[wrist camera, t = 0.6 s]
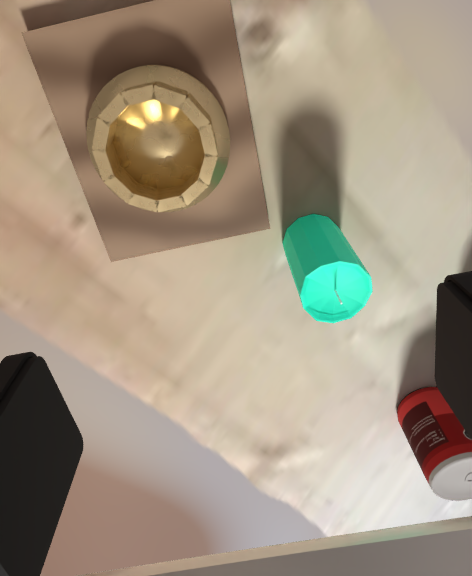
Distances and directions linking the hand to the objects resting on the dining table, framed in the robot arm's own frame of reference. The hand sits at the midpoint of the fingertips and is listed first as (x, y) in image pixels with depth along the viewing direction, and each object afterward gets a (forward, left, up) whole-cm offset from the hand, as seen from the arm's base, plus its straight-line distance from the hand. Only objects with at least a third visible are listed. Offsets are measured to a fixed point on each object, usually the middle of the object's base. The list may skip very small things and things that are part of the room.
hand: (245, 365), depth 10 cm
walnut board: (0, -5, -33) cm, 33 cm away
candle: (+13, +7, -33) cm, 36 cm away
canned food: (+40, +19, -33) cm, 55 cm away
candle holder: (0, -5, -31) cm, 32 cm away
